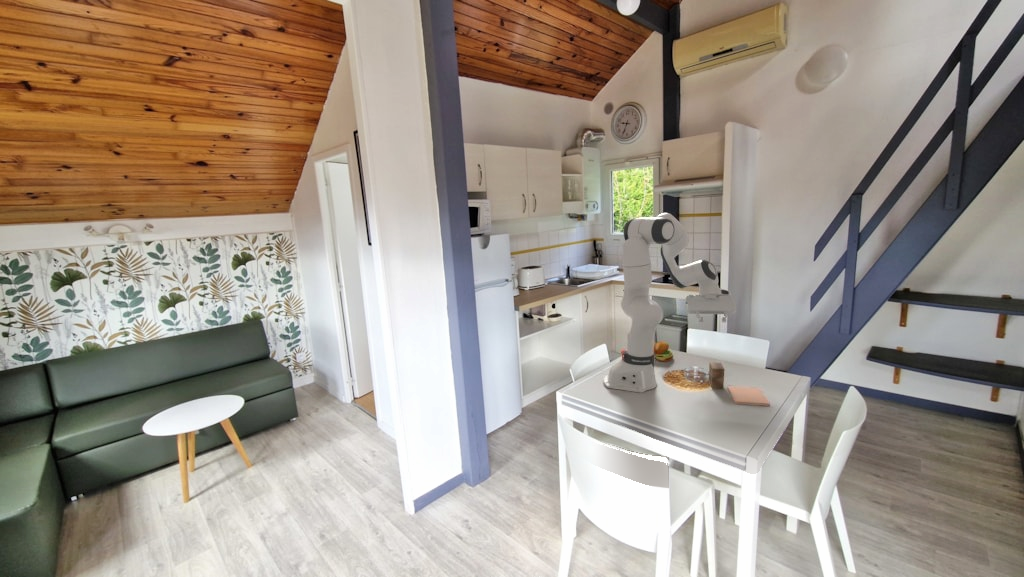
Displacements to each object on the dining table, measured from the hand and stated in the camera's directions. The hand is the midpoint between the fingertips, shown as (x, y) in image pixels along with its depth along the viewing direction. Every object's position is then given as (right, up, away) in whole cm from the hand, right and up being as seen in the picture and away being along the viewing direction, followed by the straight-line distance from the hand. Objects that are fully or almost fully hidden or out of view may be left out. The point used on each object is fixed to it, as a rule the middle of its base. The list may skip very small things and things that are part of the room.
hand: (712, 321), depth 192 cm
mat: (+5, -28, -20) cm, 35 cm away
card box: (-3, -26, -9) cm, 28 cm away
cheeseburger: (-15, -21, +23) cm, 34 cm away
